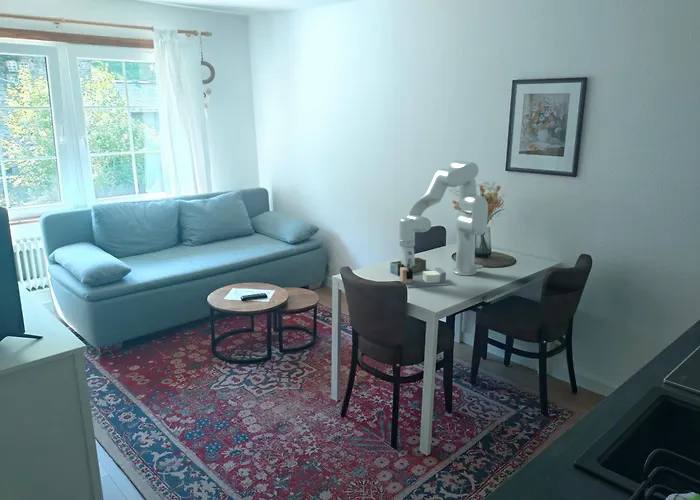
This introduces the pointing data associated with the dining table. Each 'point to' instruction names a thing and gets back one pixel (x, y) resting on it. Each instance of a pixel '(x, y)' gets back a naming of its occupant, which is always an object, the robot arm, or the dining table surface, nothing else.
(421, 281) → the mat
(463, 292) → the dining table surface
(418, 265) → the beverage carton
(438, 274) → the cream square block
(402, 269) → the tan rectangular block
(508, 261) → the dining table surface
